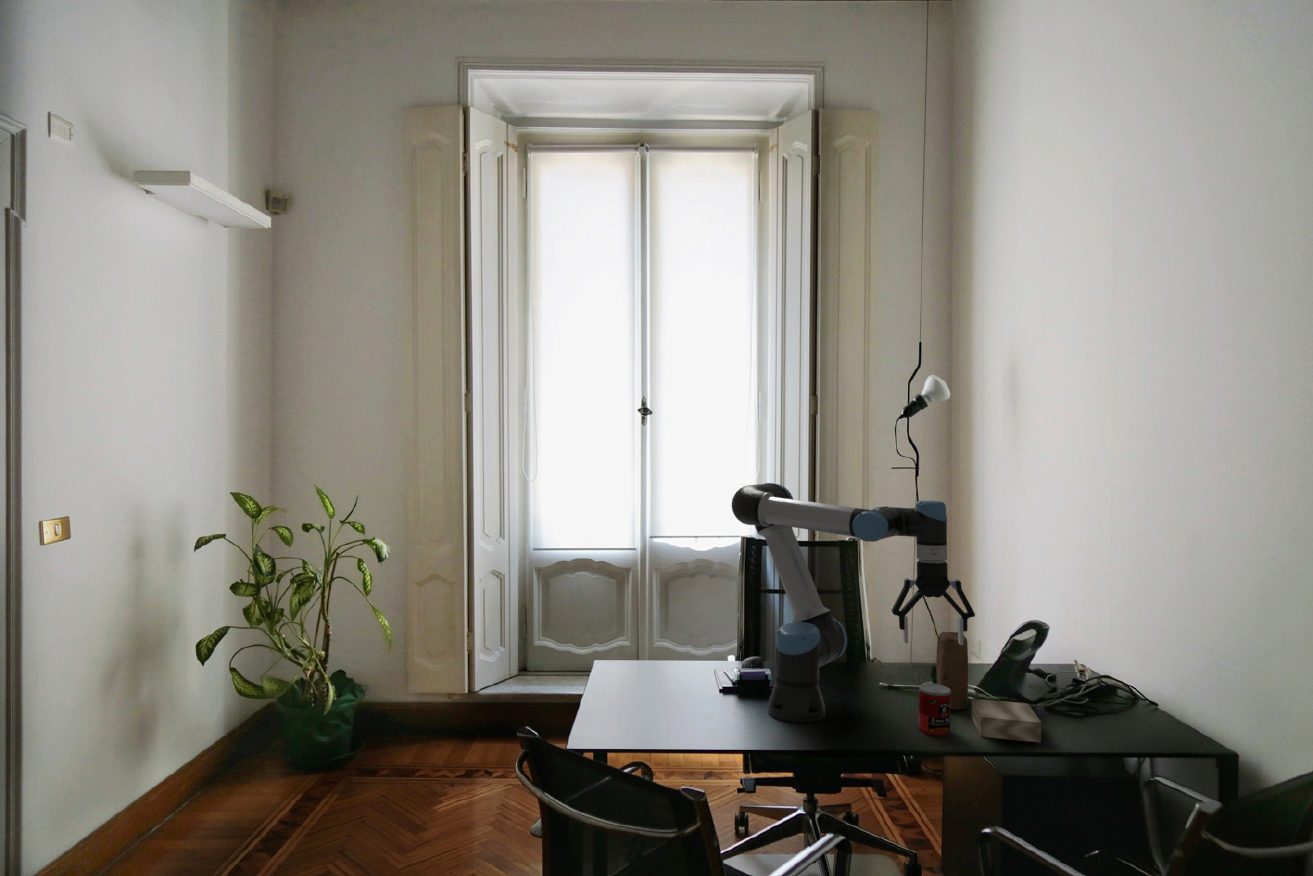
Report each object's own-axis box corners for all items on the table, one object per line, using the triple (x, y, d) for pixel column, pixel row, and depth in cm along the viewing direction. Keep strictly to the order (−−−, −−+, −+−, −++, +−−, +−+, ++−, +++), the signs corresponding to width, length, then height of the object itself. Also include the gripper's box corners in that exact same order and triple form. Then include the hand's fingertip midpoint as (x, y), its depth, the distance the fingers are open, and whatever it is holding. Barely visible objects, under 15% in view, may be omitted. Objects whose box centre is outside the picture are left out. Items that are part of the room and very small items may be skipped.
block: (968, 712, 214) (970, 639, 213) (940, 710, 215) (941, 637, 215) (961, 699, 224) (962, 630, 224) (933, 697, 226) (935, 628, 225)
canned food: (930, 738, 195) (931, 694, 195) (911, 726, 203) (912, 684, 202) (956, 735, 197) (957, 692, 197) (937, 724, 205) (938, 682, 205)
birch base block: (980, 736, 196) (980, 717, 196) (971, 717, 210) (971, 698, 210) (1040, 742, 193) (1041, 722, 193) (1027, 722, 207) (1027, 703, 207)
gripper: (883, 562, 200) (884, 645, 200) (986, 563, 196) (987, 648, 195) (880, 558, 207) (881, 638, 207) (979, 559, 203) (980, 641, 203)
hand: (933, 643), depth 201 cm, fingers open, 13 cm apart
